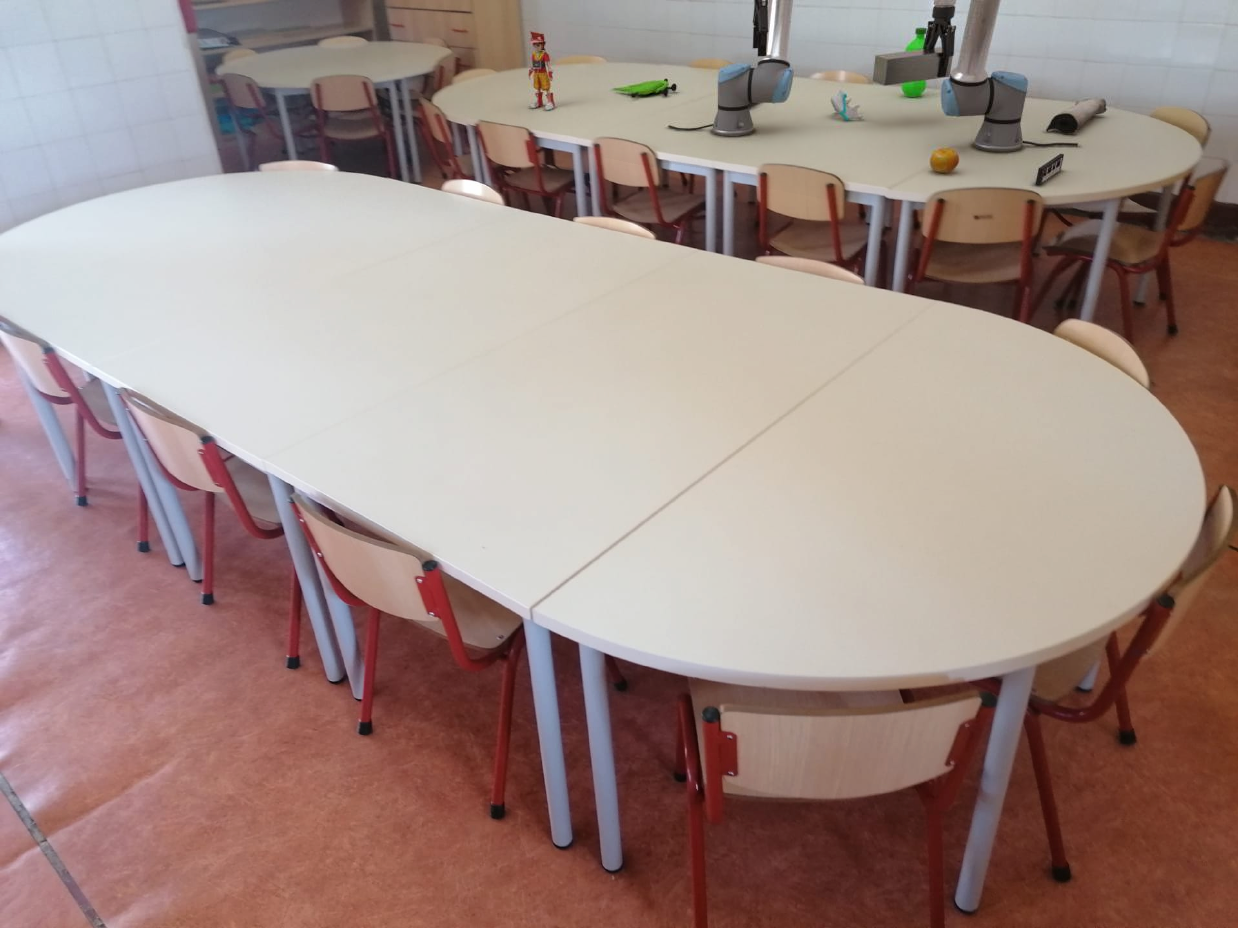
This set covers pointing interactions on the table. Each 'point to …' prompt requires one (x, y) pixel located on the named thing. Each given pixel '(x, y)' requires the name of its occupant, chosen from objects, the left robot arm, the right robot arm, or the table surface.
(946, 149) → the fruit
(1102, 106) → the rolled mat
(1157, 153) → the table surface
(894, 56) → the box
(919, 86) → the plastic bottle
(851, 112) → the anatomical model
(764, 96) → the left robot arm
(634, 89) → the toy
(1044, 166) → the midi keyboard
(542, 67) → the toy
